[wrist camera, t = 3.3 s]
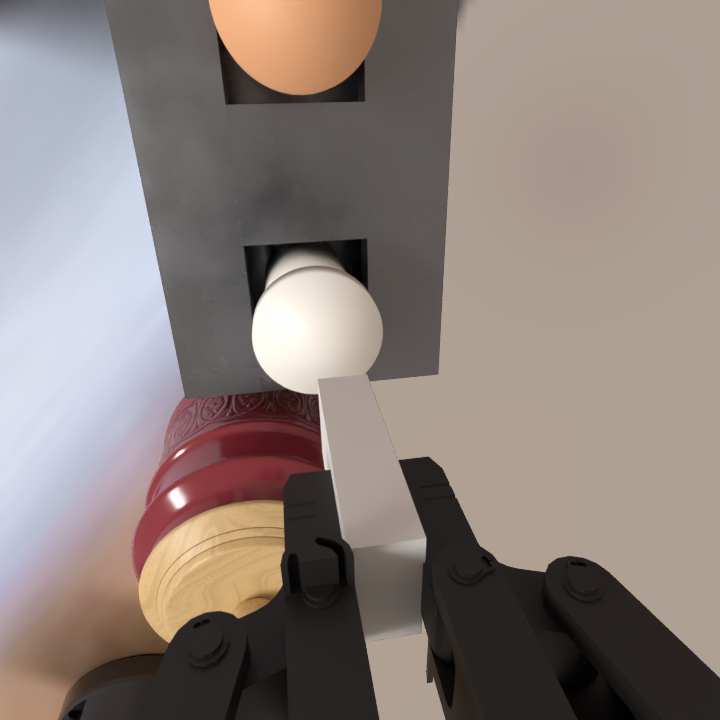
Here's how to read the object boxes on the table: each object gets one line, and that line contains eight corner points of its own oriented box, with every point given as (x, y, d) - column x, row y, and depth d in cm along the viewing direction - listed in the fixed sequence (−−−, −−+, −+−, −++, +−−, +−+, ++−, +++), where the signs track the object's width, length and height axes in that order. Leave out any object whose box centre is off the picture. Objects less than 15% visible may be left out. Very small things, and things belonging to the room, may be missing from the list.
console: (404, 322, 36) (438, 374, 29) (202, 339, 34) (185, 399, 27) (411, -70, 26) (465, -138, 19) (129, -77, 24) (73, -155, 17)
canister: (327, 337, 36) (374, 512, 20) (359, 477, 42) (415, 698, 26) (142, 379, 35) (40, 598, 19) (202, 517, 41) (161, 769, 25)
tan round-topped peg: (346, 99, 26) (382, 92, 18) (235, 101, 25) (220, 96, 17) (342, -37, 24) (381, -115, 15) (219, -38, 23) (192, -122, 15)
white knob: (352, 316, 31) (383, 387, 23) (261, 323, 31) (259, 400, 22) (350, 224, 29) (382, 268, 21) (250, 230, 28) (244, 278, 20)
